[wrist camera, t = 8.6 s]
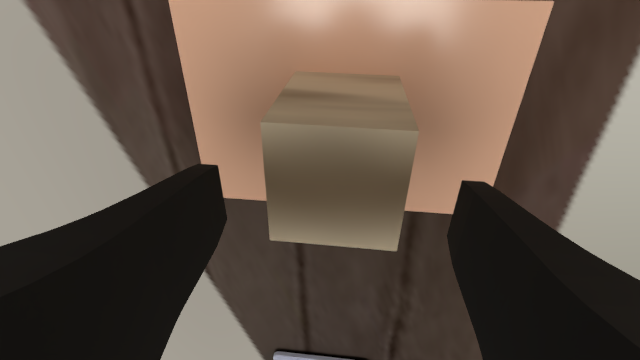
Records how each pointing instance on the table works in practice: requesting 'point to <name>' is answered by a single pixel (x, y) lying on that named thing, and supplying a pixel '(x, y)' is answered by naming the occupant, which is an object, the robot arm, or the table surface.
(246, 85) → the terracotta tile
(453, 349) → the table surface
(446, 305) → the table surface
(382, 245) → the maple block
